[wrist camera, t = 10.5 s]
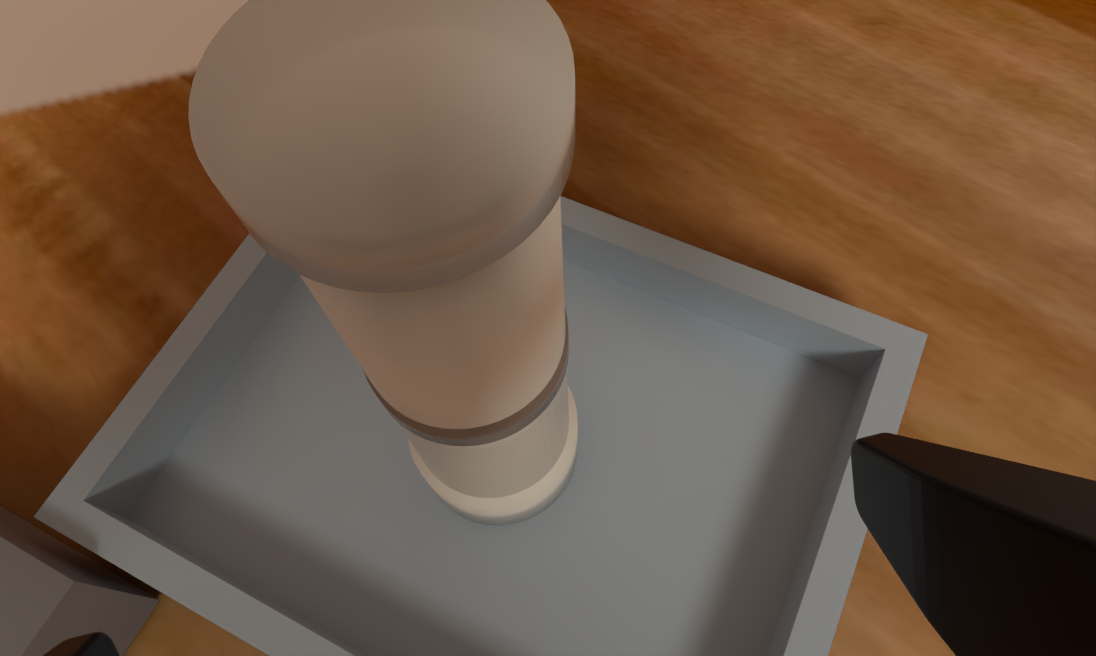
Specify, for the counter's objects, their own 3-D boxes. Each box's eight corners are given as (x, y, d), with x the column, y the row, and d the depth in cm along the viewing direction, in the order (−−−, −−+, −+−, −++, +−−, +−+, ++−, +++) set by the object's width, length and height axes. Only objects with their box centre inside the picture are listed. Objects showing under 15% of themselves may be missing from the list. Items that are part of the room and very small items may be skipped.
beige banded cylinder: (609, 460, 19) (654, 98, 8) (480, 559, 18) (307, 320, 7) (517, 347, 21) (436, -101, 9) (393, 433, 20) (126, 57, 8)
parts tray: (890, 373, 21) (928, 334, 18) (719, 899, 16) (741, 934, 14) (363, 166, 24) (340, 113, 22) (96, 537, 20) (33, 516, 17)
